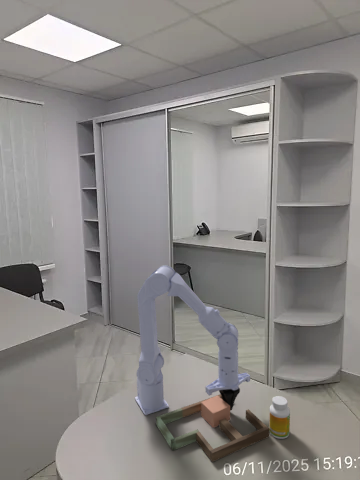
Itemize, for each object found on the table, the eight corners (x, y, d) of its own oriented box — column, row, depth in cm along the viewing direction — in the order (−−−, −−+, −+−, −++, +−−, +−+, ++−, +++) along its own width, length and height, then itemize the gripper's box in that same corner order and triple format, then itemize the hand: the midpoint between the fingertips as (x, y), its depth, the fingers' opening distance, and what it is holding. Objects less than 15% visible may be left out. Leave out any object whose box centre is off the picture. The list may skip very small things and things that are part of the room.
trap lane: (156, 424, 100) (155, 416, 100) (228, 398, 111) (228, 391, 110) (187, 473, 83) (186, 464, 83) (269, 436, 94) (269, 428, 94)
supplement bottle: (290, 440, 92) (291, 407, 91) (269, 438, 94) (270, 405, 92) (288, 426, 98) (289, 395, 96) (268, 424, 99) (269, 393, 97)
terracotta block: (201, 415, 103) (201, 402, 102) (217, 408, 106) (217, 395, 105) (213, 427, 98) (213, 413, 97) (230, 419, 101) (230, 405, 100)
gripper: (214, 380, 95) (215, 425, 97) (256, 366, 101) (256, 408, 104) (201, 368, 101) (202, 410, 104) (242, 356, 108) (242, 395, 110)
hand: (228, 408), depth 104 cm, fingers closed
